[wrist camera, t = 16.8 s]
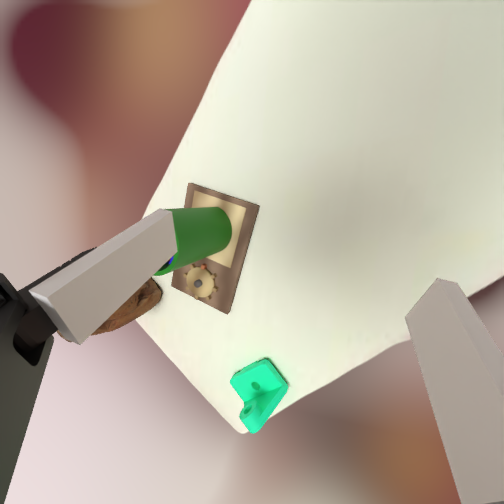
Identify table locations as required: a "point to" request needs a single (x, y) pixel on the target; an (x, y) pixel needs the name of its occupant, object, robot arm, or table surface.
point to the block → (131, 308)
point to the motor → (197, 235)
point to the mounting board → (224, 262)
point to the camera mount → (258, 392)
